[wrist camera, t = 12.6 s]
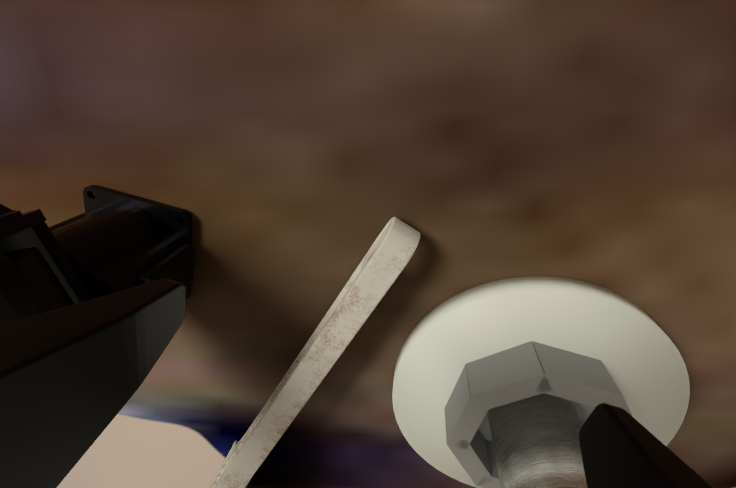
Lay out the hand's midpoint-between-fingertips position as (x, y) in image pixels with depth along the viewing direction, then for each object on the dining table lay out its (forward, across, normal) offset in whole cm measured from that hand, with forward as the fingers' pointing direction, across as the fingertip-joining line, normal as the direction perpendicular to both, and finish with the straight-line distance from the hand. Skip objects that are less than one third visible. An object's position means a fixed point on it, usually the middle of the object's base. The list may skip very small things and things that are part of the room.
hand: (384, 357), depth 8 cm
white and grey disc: (+13, -11, +11) cm, 20 cm away
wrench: (+13, +4, +16) cm, 21 cm away
